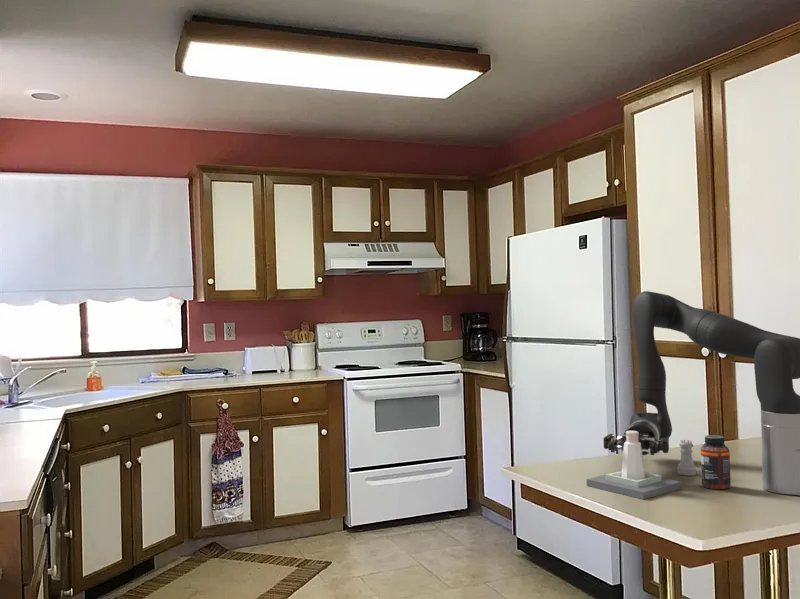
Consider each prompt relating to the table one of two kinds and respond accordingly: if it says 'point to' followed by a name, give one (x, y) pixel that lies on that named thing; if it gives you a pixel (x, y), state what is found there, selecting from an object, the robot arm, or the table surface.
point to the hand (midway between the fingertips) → (631, 449)
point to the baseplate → (635, 485)
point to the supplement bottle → (715, 463)
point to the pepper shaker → (632, 457)
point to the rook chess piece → (686, 459)
